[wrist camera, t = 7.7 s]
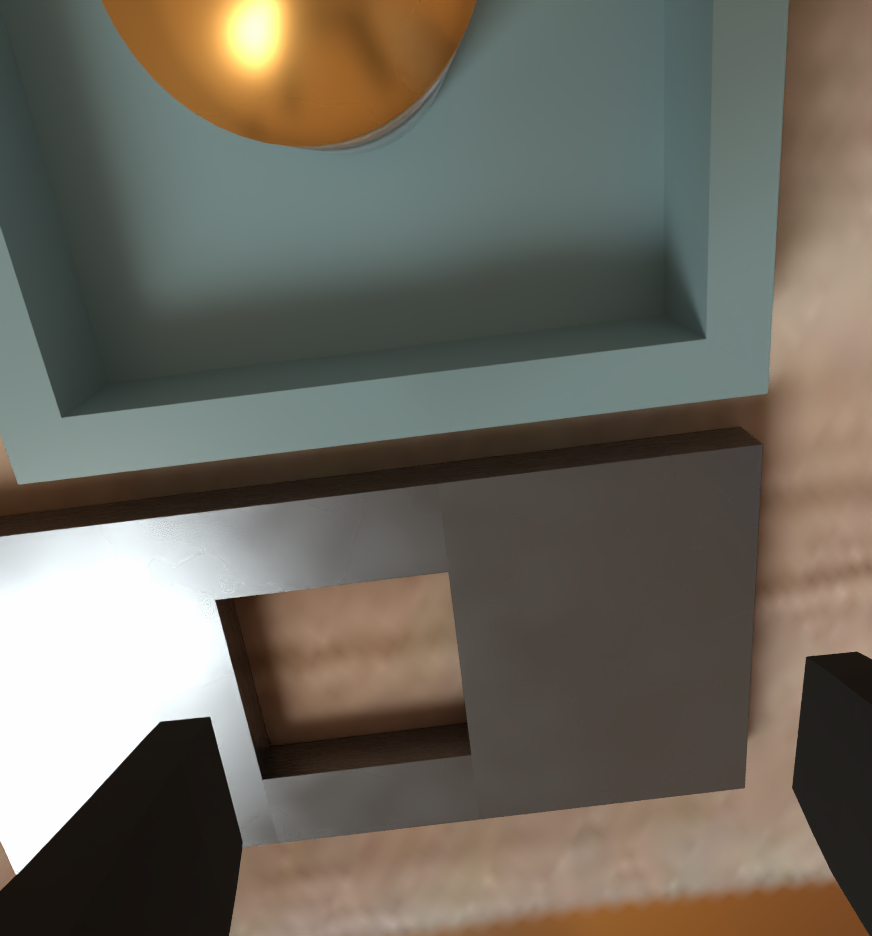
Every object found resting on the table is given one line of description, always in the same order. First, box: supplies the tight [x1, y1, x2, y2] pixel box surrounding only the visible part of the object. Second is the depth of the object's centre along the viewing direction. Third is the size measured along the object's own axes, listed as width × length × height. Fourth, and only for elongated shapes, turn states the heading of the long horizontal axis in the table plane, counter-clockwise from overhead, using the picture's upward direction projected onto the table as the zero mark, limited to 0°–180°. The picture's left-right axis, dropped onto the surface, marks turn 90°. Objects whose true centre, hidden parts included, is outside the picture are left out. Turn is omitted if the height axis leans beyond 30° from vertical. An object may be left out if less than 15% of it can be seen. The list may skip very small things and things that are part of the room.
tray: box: [0, 0, 789, 485], centre depth 13 cm, size 14×14×3 cm
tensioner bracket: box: [0, 427, 763, 874], centre depth 19 cm, size 20×10×1 cm, turn 97°
